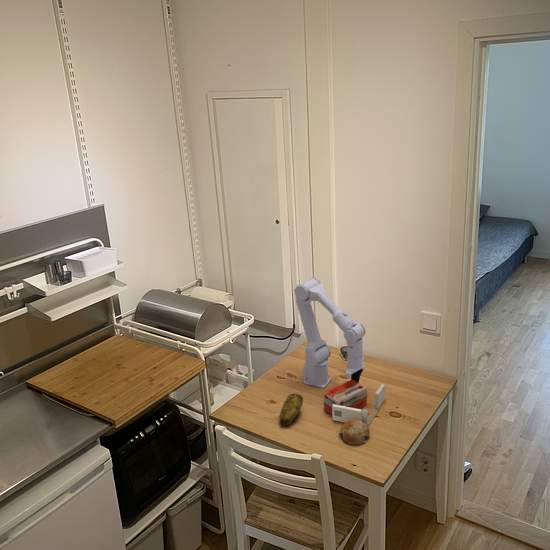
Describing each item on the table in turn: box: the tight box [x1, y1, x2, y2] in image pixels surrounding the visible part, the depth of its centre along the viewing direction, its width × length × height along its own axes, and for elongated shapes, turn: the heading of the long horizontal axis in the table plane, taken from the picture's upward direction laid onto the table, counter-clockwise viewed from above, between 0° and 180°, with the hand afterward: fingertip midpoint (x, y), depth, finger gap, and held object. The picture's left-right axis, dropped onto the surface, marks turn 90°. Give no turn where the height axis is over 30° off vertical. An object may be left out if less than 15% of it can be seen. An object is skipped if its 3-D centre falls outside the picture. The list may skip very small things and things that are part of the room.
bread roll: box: [338, 420, 371, 446], centre depth 203 cm, size 10×10×8 cm
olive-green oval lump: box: [279, 393, 304, 426], centre depth 215 cm, size 8×13×8 cm, turn 135°
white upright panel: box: [361, 383, 386, 426], centre depth 215 cm, size 2×21×7 cm, turn 151°
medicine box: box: [323, 379, 368, 415], centre depth 219 cm, size 15×8×8 cm, turn 126°
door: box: [331, 404, 362, 423], centre depth 210 cm, size 1×11×6 cm, turn 66°
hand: (355, 385), depth 226 cm, fingers closed
